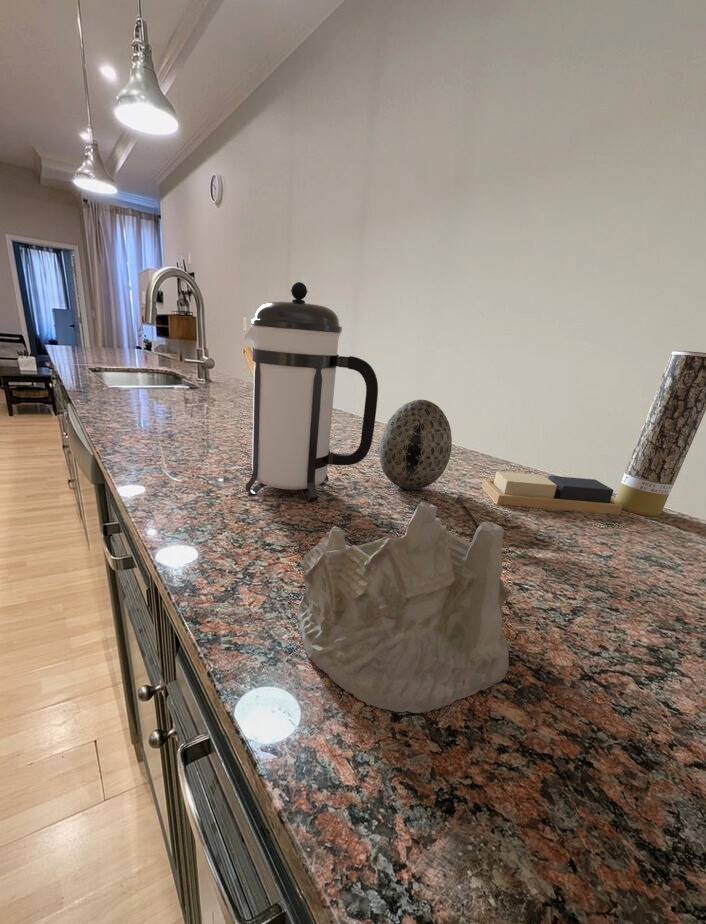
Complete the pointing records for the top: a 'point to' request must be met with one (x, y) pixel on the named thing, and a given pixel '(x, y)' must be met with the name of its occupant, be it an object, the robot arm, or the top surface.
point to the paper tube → (665, 435)
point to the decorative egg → (415, 445)
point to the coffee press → (300, 395)
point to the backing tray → (549, 502)
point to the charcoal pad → (581, 489)
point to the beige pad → (524, 485)
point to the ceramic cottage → (407, 614)
